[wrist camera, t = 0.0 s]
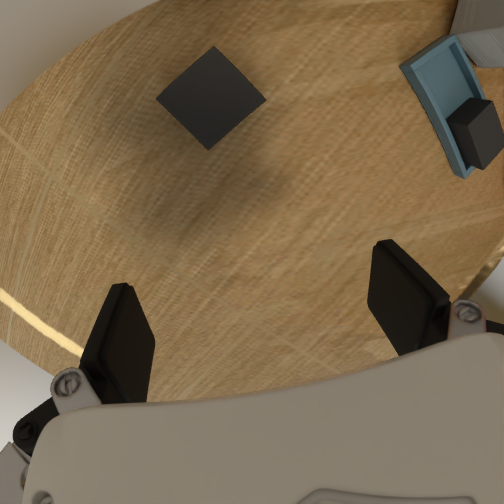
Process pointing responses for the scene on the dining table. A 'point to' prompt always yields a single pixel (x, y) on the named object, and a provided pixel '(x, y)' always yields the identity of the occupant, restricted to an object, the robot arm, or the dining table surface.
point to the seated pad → (477, 132)
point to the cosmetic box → (481, 31)
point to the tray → (444, 90)
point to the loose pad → (210, 98)
